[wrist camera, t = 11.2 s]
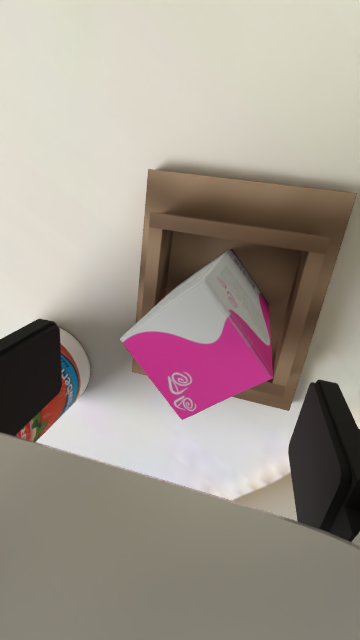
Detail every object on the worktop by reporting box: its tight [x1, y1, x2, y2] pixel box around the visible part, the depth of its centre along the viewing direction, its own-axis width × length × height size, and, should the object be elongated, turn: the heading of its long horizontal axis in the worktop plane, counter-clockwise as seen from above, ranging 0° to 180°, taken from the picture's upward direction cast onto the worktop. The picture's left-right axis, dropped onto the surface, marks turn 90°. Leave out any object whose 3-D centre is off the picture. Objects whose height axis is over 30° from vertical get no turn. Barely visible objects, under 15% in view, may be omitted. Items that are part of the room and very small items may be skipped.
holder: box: [132, 169, 357, 411], centre depth 24 cm, size 18×15×4 cm
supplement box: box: [120, 249, 273, 420], centre depth 20 cm, size 6×6×11 cm
